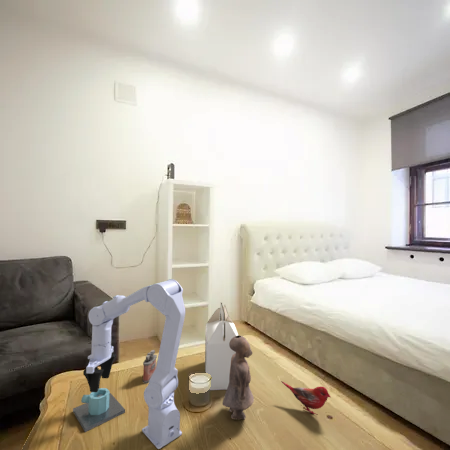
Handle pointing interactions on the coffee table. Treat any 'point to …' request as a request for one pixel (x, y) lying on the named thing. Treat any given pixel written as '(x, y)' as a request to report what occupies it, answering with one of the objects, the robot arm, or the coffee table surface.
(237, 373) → the clay figurine
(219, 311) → the gable box
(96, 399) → the elbow collar
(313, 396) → the decorative bird figurine
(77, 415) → the base
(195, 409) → the coffee table surface
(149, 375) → the lighter
